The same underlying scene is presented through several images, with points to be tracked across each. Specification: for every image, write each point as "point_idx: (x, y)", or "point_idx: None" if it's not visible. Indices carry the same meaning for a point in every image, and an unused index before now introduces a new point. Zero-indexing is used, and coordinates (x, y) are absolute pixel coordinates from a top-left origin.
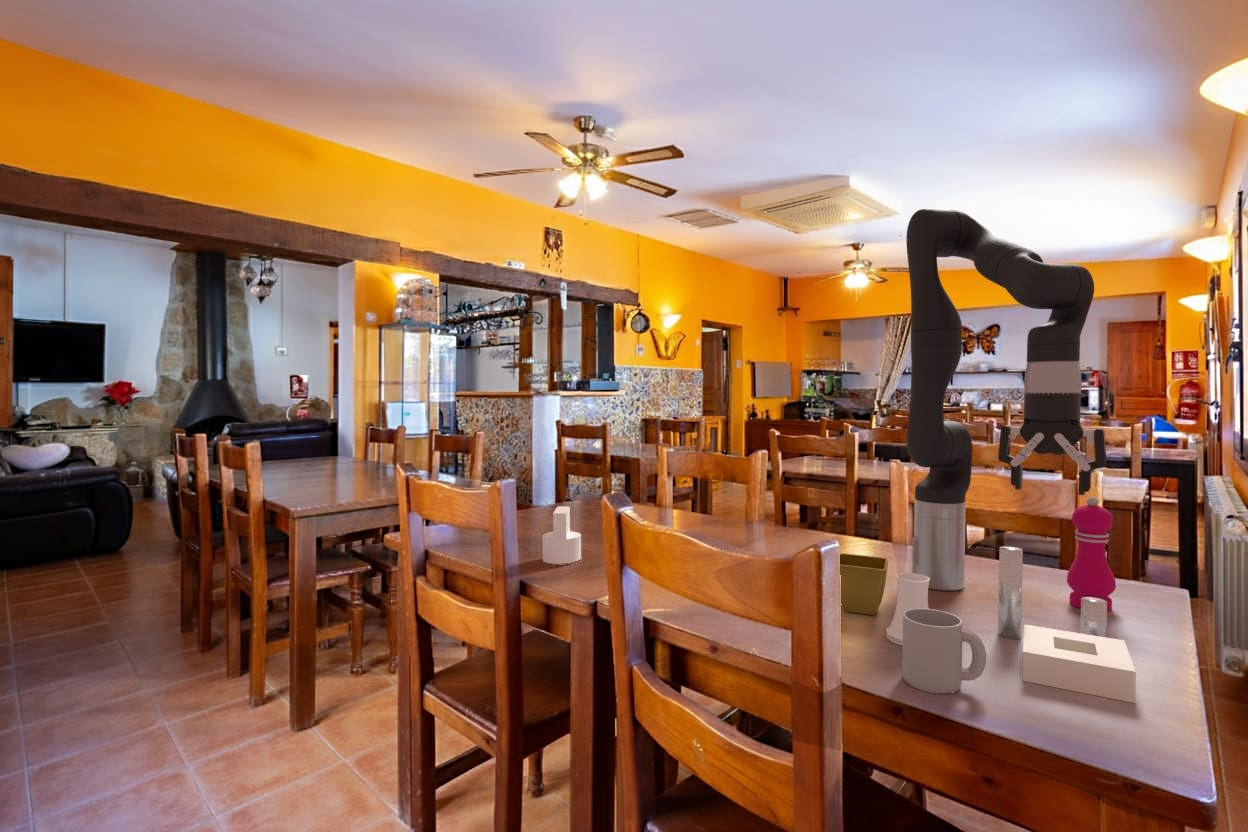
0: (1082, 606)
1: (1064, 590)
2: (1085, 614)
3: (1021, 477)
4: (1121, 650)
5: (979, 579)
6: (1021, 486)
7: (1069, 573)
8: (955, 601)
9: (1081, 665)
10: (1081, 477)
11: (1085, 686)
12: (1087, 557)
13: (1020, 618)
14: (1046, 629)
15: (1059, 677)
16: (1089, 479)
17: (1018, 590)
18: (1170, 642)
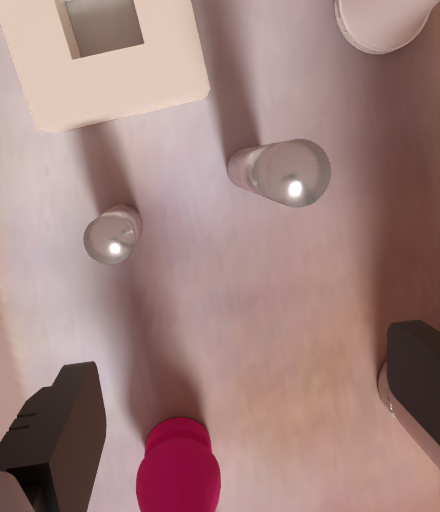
0: (129, 222)
1: (233, 503)
2: (124, 215)
3: (430, 399)
4: (22, 51)
5: (367, 462)
6: (394, 372)
7: (214, 473)
8: (370, 296)
9: None
10: (46, 429)
11: None
12: (181, 508)
13: (233, 165)
14: (167, 86)
15: None
16: (3, 446)
17: (247, 157)
18: (32, 338)
